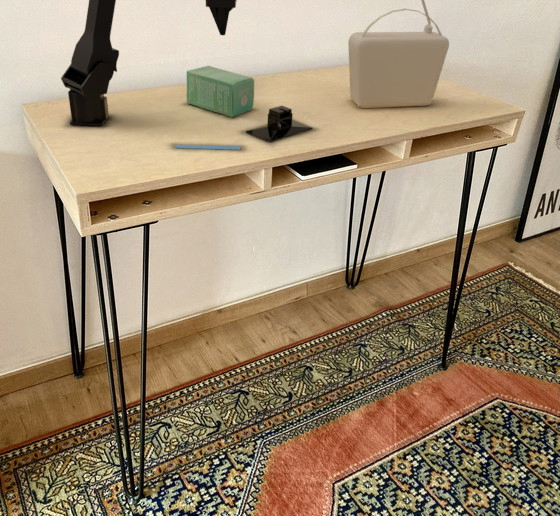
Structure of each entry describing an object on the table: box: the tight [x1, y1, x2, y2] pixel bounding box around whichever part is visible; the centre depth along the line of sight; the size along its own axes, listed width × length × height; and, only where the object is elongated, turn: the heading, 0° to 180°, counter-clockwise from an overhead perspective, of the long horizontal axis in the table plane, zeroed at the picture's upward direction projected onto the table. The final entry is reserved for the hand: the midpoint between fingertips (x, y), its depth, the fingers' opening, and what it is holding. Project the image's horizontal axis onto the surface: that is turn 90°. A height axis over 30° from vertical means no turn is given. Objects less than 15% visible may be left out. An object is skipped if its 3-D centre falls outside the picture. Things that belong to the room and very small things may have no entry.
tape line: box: [175, 144, 241, 151], centre depth 118 cm, size 12×2×1 cm, turn 92°
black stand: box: [245, 105, 313, 144], centre depth 126 cm, size 12×7×5 cm, turn 134°
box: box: [186, 65, 255, 118], centre depth 136 cm, size 7×14×8 cm, turn 54°
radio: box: [347, 0, 450, 109], centre depth 140 cm, size 22×8×25 cm, turn 104°
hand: (222, 34), depth 141 cm, fingers closed
